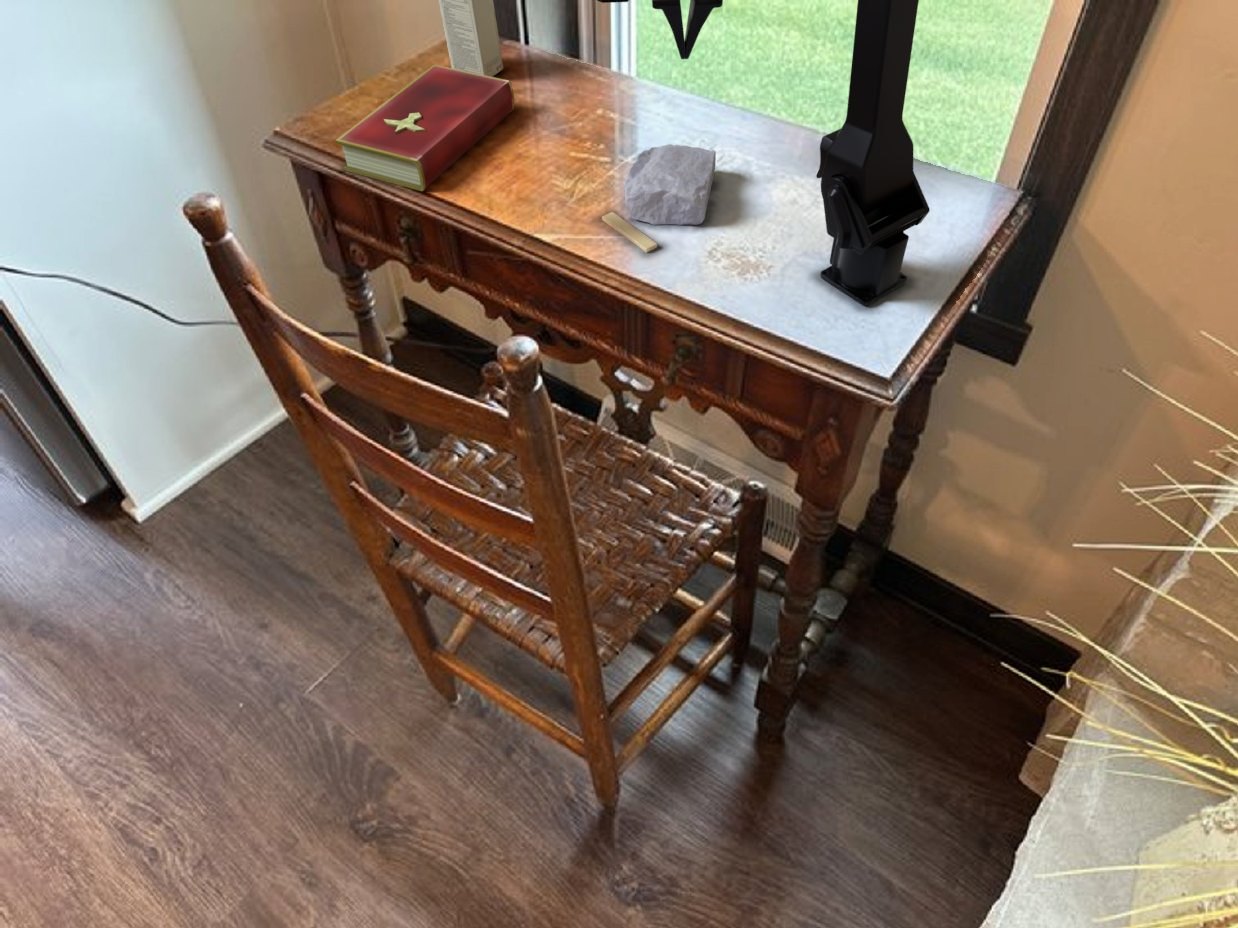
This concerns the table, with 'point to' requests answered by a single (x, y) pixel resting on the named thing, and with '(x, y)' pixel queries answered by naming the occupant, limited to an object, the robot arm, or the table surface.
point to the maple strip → (629, 232)
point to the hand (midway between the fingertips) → (684, 57)
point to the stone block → (670, 185)
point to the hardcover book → (426, 126)
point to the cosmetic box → (472, 35)
